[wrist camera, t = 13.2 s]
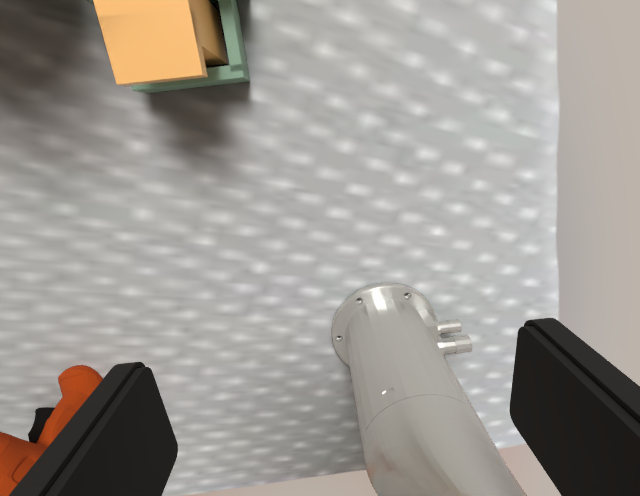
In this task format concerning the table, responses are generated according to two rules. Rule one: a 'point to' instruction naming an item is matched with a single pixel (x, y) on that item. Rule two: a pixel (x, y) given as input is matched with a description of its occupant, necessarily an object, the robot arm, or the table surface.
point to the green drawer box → (215, 74)
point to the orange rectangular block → (160, 39)
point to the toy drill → (44, 426)
